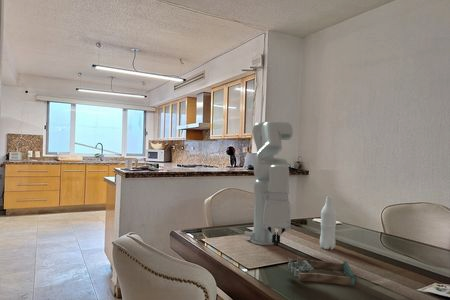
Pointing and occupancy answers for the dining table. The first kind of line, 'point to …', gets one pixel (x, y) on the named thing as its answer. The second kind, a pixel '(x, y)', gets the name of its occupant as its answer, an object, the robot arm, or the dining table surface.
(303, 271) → the egg carton
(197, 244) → the dining table surface
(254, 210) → the robot arm
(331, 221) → the water bottle
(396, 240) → the dining table surface
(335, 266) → the guide
